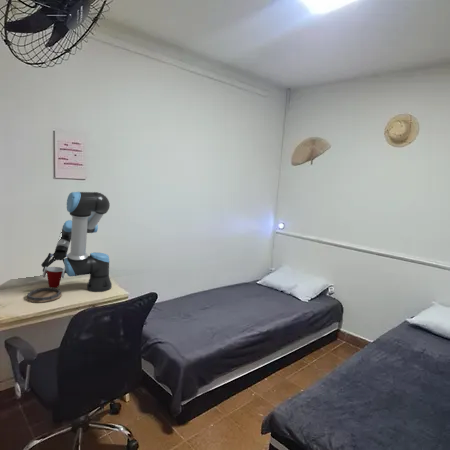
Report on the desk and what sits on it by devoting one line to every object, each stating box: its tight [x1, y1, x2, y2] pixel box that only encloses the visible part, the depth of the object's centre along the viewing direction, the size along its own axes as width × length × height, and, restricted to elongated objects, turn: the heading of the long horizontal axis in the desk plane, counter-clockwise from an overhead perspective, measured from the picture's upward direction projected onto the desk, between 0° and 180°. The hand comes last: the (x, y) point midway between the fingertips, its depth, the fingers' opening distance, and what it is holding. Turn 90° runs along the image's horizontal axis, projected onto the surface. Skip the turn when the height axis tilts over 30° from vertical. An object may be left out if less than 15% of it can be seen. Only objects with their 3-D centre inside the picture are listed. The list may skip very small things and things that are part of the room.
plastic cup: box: [46, 266, 64, 288], centre depth 214 cm, size 11×11×12 cm
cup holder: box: [26, 287, 63, 304], centre depth 197 cm, size 18×18×3 cm
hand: (53, 276), depth 211 cm, fingers closed on plastic cup, 11 cm apart
